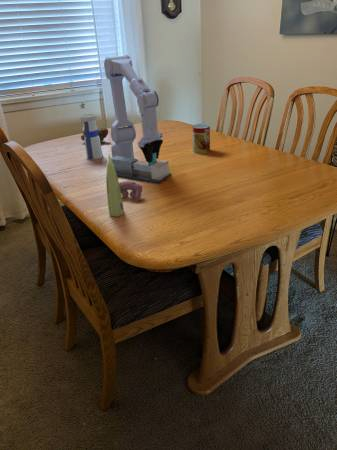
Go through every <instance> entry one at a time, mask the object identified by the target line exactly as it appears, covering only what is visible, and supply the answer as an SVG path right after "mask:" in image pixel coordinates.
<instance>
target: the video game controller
mask: <svg viewBox="0 0 337 450" xmlns="http://www.w3.org/2000/svg"><path fill="white" fill-rule="evenodd" d="M119 186H120V191H121V196H122V198H128V197H129V196H130V198H132V199H134V198H135V202H136V203H137V202H139V201H140V200H141V197H142V192H143V186H142V185H141V184H140V183H137V182H134V181H129V180H128V181H121V182H119ZM129 191H130V192H129Z"/></svg>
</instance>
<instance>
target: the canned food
mask: <svg viewBox="0 0 337 450" xmlns="http://www.w3.org/2000/svg"><path fill="white" fill-rule="evenodd" d="M192 150H193V151H192V152H193V153H194V154H199V155H205V154H208V153H210V151H211V126H210V124H207V123H197V124H194V125H192Z"/></svg>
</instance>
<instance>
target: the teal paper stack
mask: <svg viewBox="0 0 337 450" xmlns="http://www.w3.org/2000/svg"><path fill="white" fill-rule="evenodd" d="M156 162H158V160H157V158H156V152H152V162H151V163H150V162H142V161H138V160H137V161H134V162H132V163H131V164H132V169H133V170H139V171H145V172H151V165H153V164H154V163H156Z"/></svg>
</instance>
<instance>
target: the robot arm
mask: <svg viewBox="0 0 337 450" xmlns="http://www.w3.org/2000/svg"><path fill="white" fill-rule="evenodd" d="M132 60H133V59H132V58H131V56H130V55H128V54H124V55H117V56H116V55H115V56H106V57H105V59H104V63H103V67H104V68H103V69H104V73H105V77H106V79H107V80H109V81H110V82H109V85H110V89H111V96H112V103H113V106H114V107H113V109H114V116H115V121H114V122H113V123H112V124H111V125H110V137H111V141H112V144H111V149H110V150H111V158H112V157H114V156H122V157H129V158H135V152H134V141H135V139H136V137H137V131H136V129H135V125H134V122H133V121H131V120H129V119H128V114H127V113H128V112H127V105H126V99H125V92H124V85H123V80H124V78H125V80H126V81H127V82H128V83H129V84H130V85H129V88H130V90H131V92H132V93H133V95H134V97H135V98H136V102H137V107H138V109H139V113H140V116H141V126H142V127H141V128H142V138H141V139H139V141H137V147H138V148H139V149H140V150H141V152H142V154H143V156H144V159H145V163H148V162H150V163H151V162H152V152H156V158H157V159H159V155H160V150H161V146H162V144H163V143H164V140H163V139H162V138H163V137H164V135H163V134H164V133H163V131H158V117H157V115H158V114H157V112H158V111H157V107H158V106H159V104H160V103H159V102H160V99H159V94H158V93H157V91H156V90H153V89H150V88H149V86H148V85H147V83H146V82H145V81H144V79H143V78H142V77H138V75H137V73H136V71H135V70H134V68H133V61H132ZM136 159H137V161H139V158H136Z"/></svg>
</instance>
